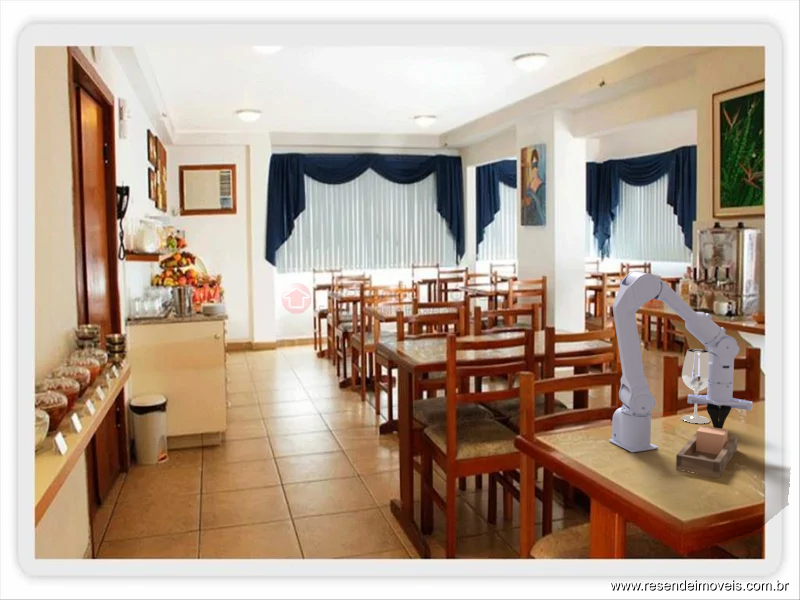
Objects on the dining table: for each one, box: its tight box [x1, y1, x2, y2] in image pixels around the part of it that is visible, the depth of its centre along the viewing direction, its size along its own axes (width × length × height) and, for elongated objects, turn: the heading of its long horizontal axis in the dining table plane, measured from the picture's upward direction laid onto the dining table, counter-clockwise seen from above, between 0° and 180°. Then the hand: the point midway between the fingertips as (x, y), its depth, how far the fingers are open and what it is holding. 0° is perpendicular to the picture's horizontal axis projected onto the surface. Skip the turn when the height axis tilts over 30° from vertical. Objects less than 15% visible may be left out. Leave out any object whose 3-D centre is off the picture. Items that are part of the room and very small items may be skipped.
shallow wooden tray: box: [675, 431, 738, 479], centre depth 160 cm, size 22×9×4 cm, turn 144°
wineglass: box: [680, 348, 711, 425], centre depth 190 cm, size 8×8×20 cm
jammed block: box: [695, 425, 729, 455], centre depth 163 cm, size 5×6×5 cm
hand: (718, 434), depth 169 cm, fingers closed
